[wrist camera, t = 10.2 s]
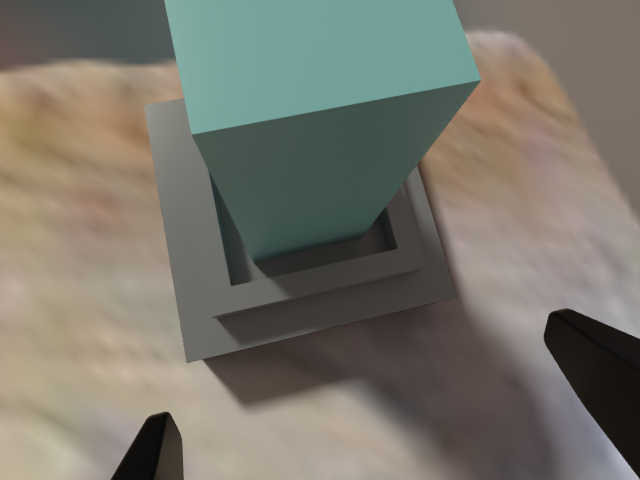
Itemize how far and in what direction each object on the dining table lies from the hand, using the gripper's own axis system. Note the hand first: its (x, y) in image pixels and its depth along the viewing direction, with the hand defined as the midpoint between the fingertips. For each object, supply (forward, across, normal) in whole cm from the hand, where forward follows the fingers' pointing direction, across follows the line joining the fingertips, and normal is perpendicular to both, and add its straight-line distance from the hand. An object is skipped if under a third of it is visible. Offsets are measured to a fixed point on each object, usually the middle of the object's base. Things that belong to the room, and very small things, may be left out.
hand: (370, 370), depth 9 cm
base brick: (+13, 0, +3) cm, 13 cm away
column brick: (+11, 0, +1) cm, 11 cm away
